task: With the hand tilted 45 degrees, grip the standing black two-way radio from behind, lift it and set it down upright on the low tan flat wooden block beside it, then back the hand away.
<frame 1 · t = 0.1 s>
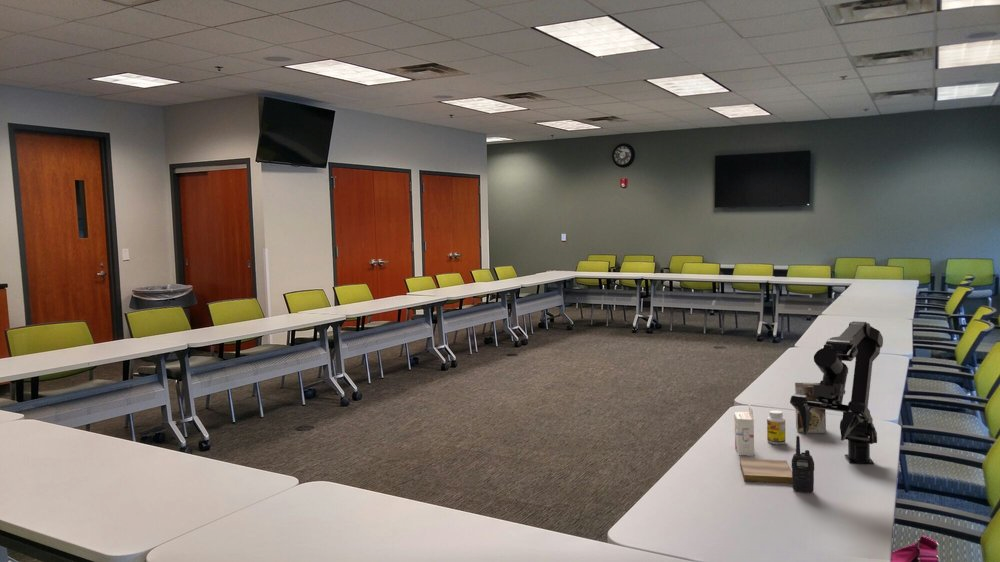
hand: (823, 437, 177), 15 cm above the table, tool tilted 35°, fingers open, 9 cm apart
two-way radio: (803, 491, 179), on the table
ink cartridge box: (744, 452, 212), on the table
tan flat wooden block: (766, 474, 192), on the table
coffee box: (810, 431, 231), on the table
supplement bottle: (776, 442, 220), on the table
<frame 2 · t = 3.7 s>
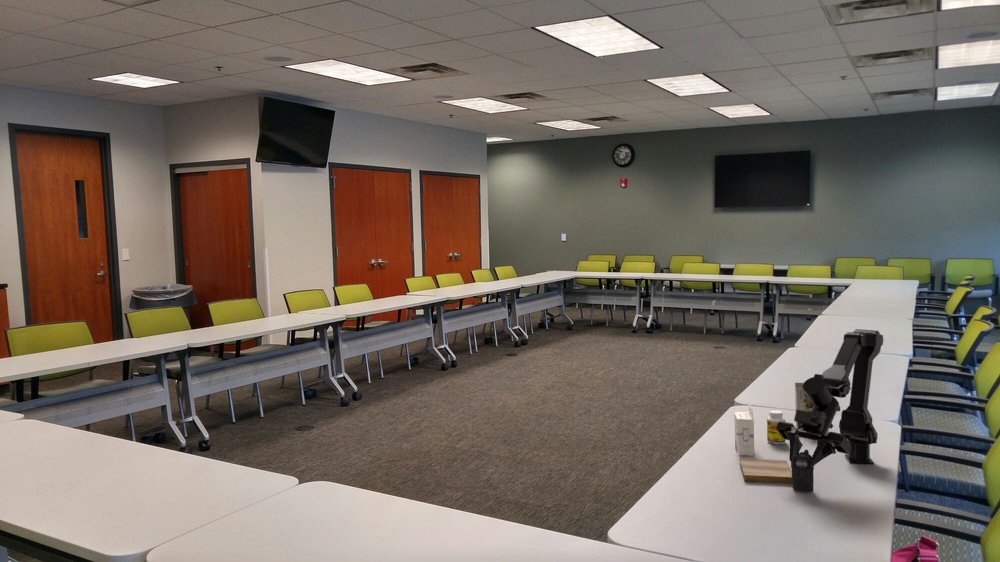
hand: (800, 463, 178), 8 cm above the table, tool tilted 45°, fingers closed on two-way radio, 5 cm apart
two-way radio: (803, 490, 179), on the table, touching gripper
everything else where it was.
when the fingers open (11 cm above the table, at t = 7.7 s): two-way radio stays where it is, resting on tan flat wooden block.
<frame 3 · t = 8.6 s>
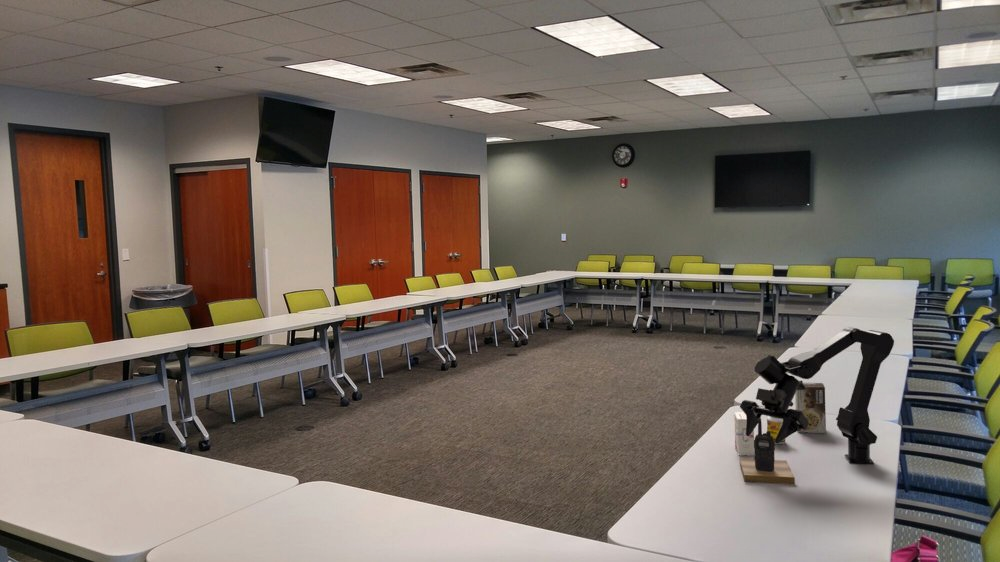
hand: (761, 439, 189), 11 cm above the table, tool tilted 45°, fingers open, 9 cm apart
two-way radio: (764, 469, 191), point 2 cm above the table, touching tan flat wooden block
everything else where it was.
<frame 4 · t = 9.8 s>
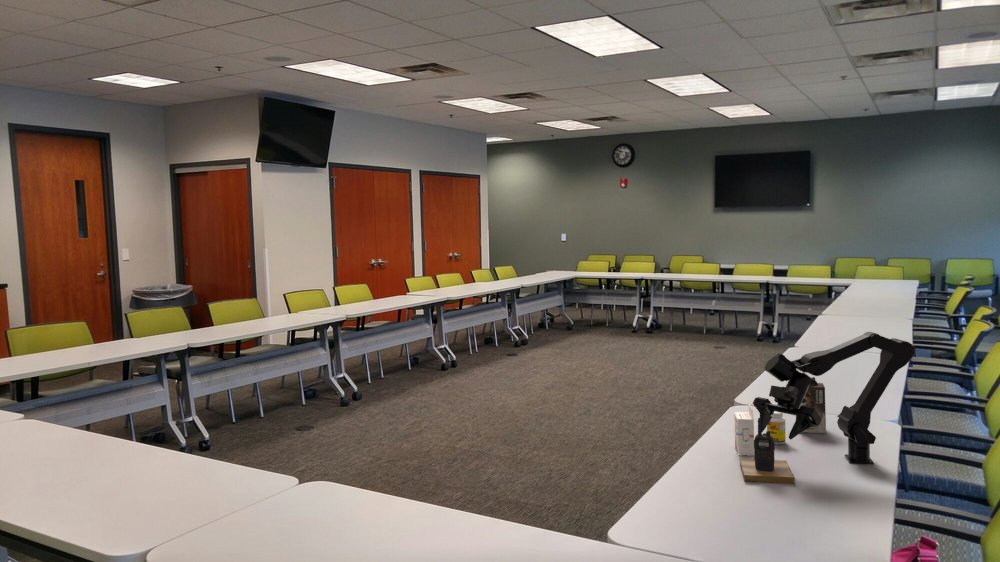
hand: (774, 435, 193), 11 cm above the table, tool tilted 45°, fingers open, 9 cm apart
nothing on the table moved.
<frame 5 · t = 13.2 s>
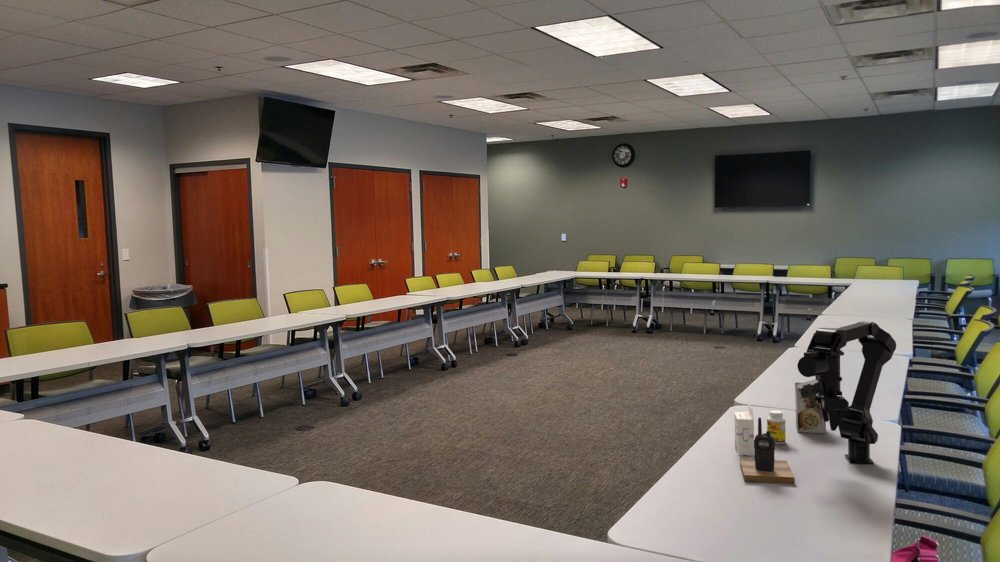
hand: (829, 425, 192), 13 cm above the table, tool pointing down, fingers open, 9 cm apart
nothing on the table moved.
at the end: two-way radio inside the target area on the tan flat wooden block (1.4 cm from its centre), point 1.8 cm above the tan flat wooden block's base; two-way radio tilted 0°; the gripper is holding nothing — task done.
